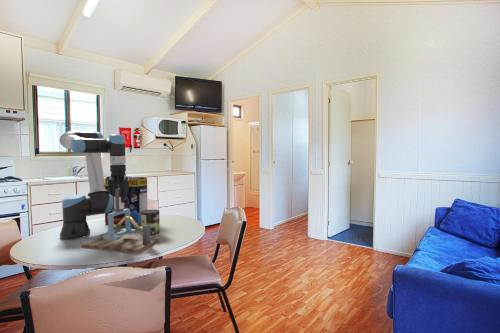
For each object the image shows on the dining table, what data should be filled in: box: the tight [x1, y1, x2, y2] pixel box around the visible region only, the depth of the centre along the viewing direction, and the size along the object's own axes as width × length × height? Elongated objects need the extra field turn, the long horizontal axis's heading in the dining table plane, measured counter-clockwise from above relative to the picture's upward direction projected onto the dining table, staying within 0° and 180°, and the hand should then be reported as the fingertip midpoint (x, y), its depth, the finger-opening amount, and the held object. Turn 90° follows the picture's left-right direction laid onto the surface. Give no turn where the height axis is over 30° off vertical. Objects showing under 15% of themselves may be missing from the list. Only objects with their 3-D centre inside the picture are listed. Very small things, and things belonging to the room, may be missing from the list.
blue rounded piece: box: [130, 210, 141, 229], centre depth 181 cm, size 12×7×12 cm, turn 74°
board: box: [81, 233, 160, 254], centre depth 151 cm, size 34×18×2 cm, turn 74°
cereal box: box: [104, 176, 148, 226], centre depth 195 cm, size 27×11×32 cm, turn 80°
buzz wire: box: [114, 216, 151, 245], centre depth 149 cm, size 24×3×14 cm, turn 74°
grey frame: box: [102, 188, 137, 240], centre depth 150 cm, size 8×15×25 cm, turn 164°
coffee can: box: [141, 209, 161, 238], centre depth 167 cm, size 10×10×14 cm
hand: (119, 208), depth 150 cm, fingers closed on grey frame, 2 cm apart
